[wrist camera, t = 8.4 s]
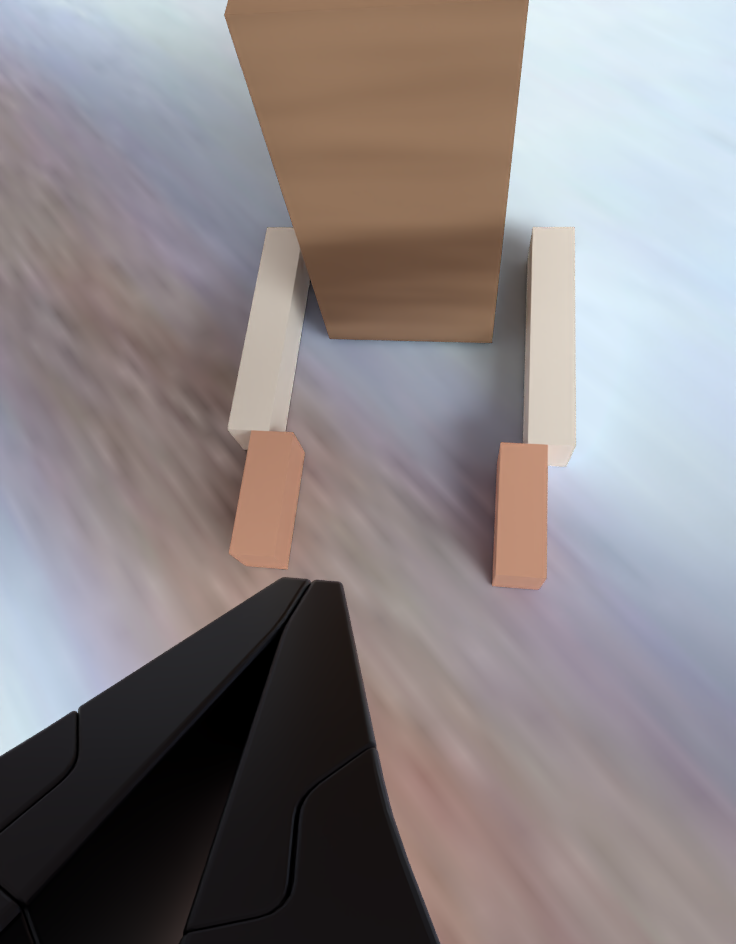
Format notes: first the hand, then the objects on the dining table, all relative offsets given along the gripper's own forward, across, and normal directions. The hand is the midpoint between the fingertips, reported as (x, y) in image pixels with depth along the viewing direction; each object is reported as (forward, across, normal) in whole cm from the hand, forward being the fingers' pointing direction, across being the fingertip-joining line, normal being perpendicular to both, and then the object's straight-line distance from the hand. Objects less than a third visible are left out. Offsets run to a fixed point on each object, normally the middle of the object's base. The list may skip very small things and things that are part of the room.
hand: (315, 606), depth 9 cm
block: (+14, 0, -3) cm, 14 cm away
